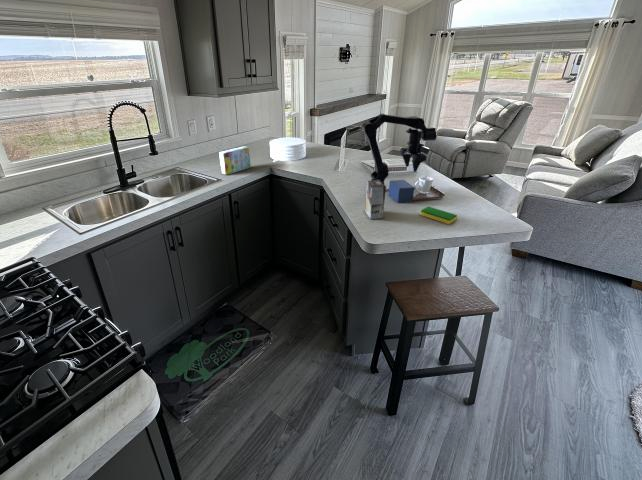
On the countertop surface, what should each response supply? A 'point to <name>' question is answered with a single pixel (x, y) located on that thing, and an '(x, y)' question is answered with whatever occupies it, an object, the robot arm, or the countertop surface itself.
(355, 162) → the countertop surface
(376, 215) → the coffee box
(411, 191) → the navy box
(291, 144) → the plate stack
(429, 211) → the dish sponge
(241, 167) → the snack box
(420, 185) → the cup
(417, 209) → the countertop surface
